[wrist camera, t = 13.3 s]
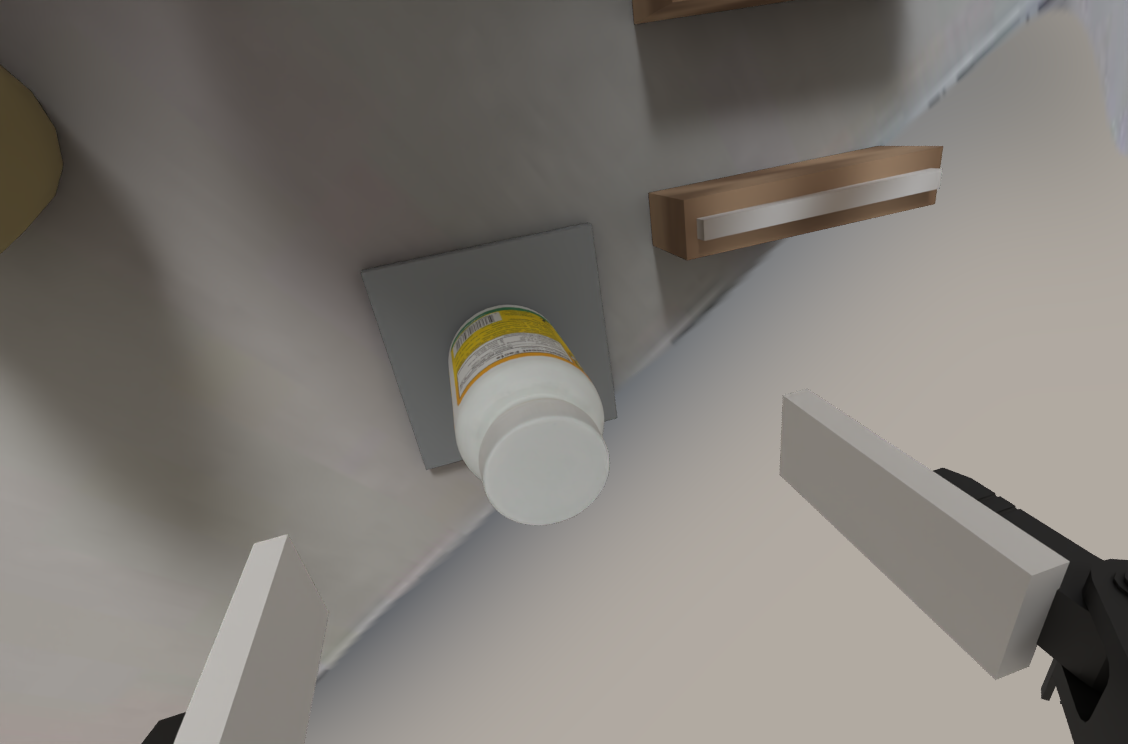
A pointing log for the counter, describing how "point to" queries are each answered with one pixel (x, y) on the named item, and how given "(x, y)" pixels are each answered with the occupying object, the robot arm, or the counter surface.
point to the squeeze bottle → (24, 159)
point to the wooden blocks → (783, 182)
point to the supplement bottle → (526, 416)
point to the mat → (472, 284)
